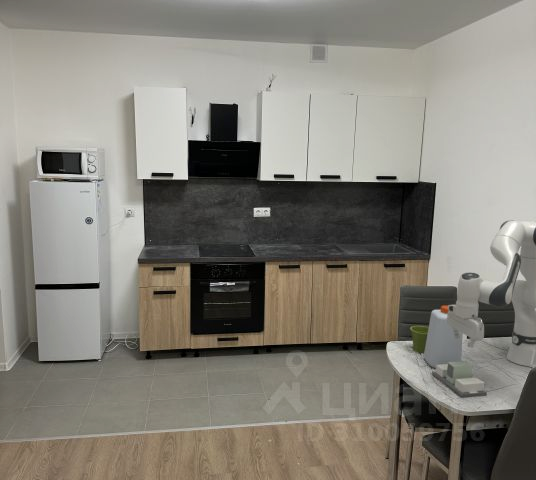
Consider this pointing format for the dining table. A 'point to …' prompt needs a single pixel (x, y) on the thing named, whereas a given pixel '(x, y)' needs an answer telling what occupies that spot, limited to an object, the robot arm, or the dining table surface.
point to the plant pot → (419, 338)
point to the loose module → (458, 371)
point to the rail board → (452, 387)
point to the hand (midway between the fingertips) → (463, 342)
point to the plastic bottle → (442, 340)
